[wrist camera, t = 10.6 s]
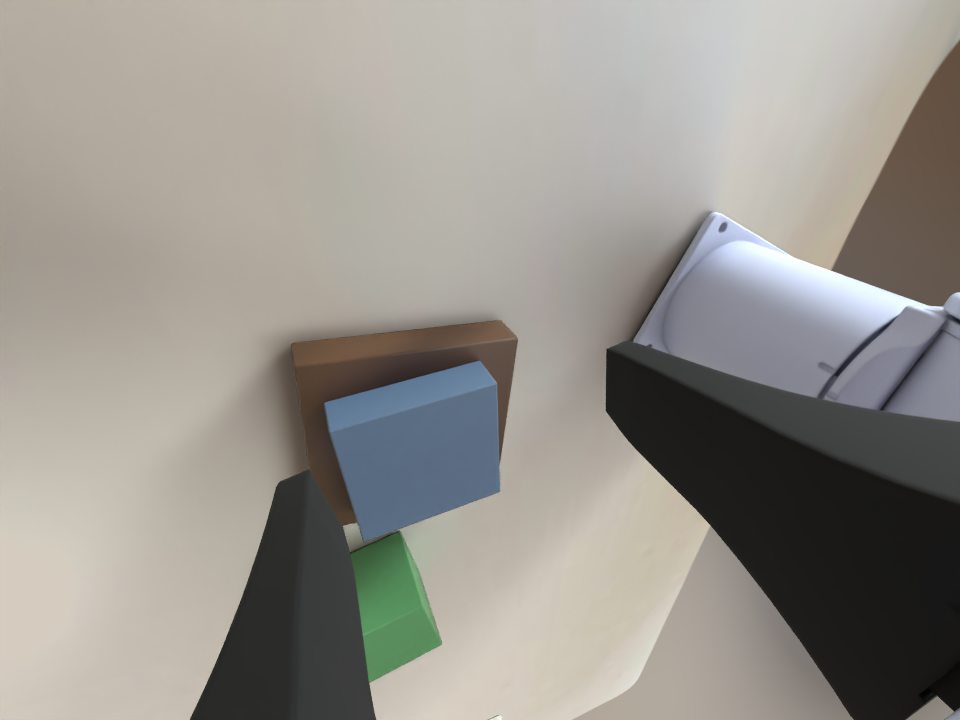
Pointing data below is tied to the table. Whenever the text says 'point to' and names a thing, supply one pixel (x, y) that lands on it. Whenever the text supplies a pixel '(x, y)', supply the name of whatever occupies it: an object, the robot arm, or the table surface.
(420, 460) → the middle block
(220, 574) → the table surface
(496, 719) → the multiport hub
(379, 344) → the base slab
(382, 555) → the green cube
